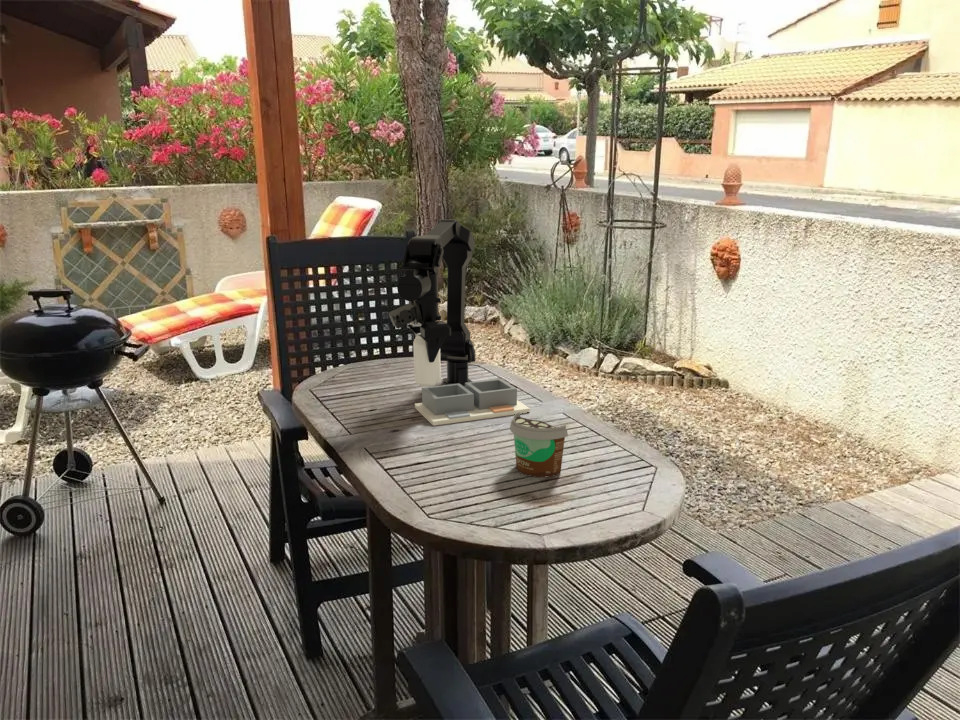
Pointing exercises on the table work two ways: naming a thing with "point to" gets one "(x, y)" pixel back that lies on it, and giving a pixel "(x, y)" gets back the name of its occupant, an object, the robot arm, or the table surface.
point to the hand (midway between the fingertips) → (427, 358)
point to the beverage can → (425, 364)
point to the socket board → (469, 401)
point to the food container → (537, 446)
